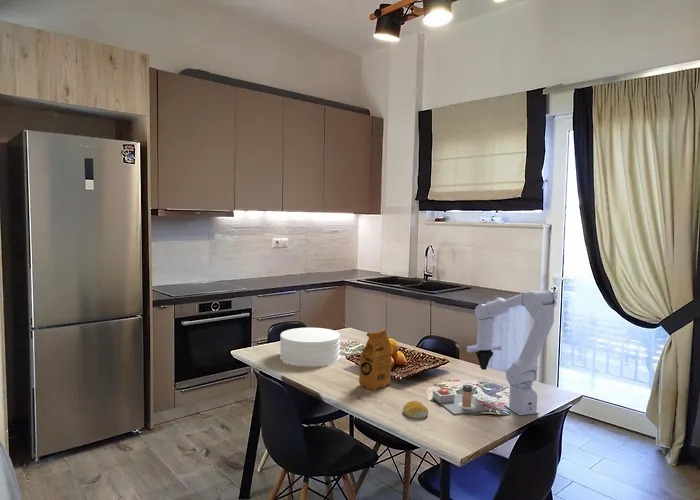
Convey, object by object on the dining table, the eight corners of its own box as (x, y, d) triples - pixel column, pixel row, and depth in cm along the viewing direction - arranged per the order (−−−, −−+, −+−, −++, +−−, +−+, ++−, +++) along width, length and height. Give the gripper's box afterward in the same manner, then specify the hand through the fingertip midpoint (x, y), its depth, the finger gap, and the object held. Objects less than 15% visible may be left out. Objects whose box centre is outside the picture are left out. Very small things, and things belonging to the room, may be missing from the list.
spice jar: (472, 407, 175) (473, 387, 175) (464, 407, 175) (465, 388, 174) (468, 403, 179) (469, 384, 178) (460, 404, 178) (461, 385, 177)
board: (489, 411, 174) (489, 402, 173) (454, 415, 169) (454, 406, 169) (465, 394, 189) (465, 387, 189) (432, 398, 185) (432, 390, 184)
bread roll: (421, 408, 176) (421, 397, 175) (431, 418, 167) (431, 406, 167) (399, 409, 174) (399, 398, 173) (408, 420, 165) (408, 408, 165)
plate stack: (316, 371, 213) (317, 345, 212) (267, 360, 227) (267, 335, 226) (350, 356, 236) (351, 333, 236) (304, 347, 251) (304, 324, 250)
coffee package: (355, 385, 197) (356, 331, 195) (375, 378, 206) (377, 326, 204) (373, 391, 190) (375, 335, 188) (394, 384, 199) (395, 330, 197)
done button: (450, 399, 181) (450, 391, 181) (441, 400, 180) (441, 392, 180) (445, 396, 185) (445, 388, 185) (436, 396, 184) (437, 389, 183)
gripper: (494, 331, 196) (493, 364, 197) (463, 333, 192) (461, 367, 193) (505, 335, 190) (503, 369, 191) (473, 337, 185) (471, 372, 186)
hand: (483, 369), depth 191 cm, fingers closed
